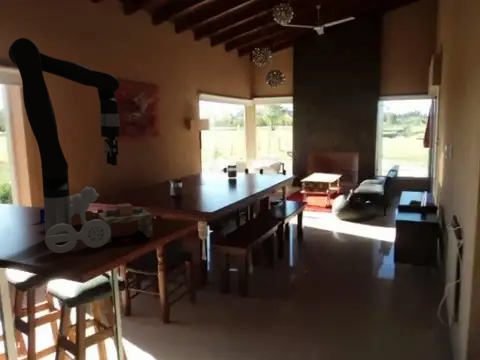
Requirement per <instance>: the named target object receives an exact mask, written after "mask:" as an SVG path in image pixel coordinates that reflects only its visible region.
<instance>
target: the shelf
mask: <svg viewBox="0 0 480 360" xmlns="http://www.w3.org/2000/svg"><path fill="white" fill-rule="evenodd" d="M97 214H98V219H99V220H102V221H104V222H105V223H107V224H108V225H109V227H110V229H111V230H112V225H111V224H113V223H114V224H115V223H120V222H124V221H133V222H134V221H137V225H138V226H137V227H138V231H139V232H140V231H141V232H140V233H142V234H143V235H144V236H145V235H146V236H145V237H146V238H153V236H154V235H153V233H154V232H153V214H152V213H150V212H148V211H147V210H145V209H144V208H143V207H141V206H139V207H133V215H131V216H122V217H117V215H119V214H120V211H119V210H117V209H111V210H110V209H108V210H106V211H105V212H98V213H97ZM98 227H99V226H98ZM99 228H100V227H99ZM101 231H103V229H102V230H101ZM102 235H103V234H102ZM102 235H101V236H102ZM108 243H112V235H111V236H110V238H109V240H108V242H107V243H106V244H108Z"/></svg>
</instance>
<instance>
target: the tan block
mask: <svg viewBox="0 0 480 360" xmlns="http://www.w3.org/2000/svg"><path fill="white" fill-rule="evenodd" d="M133 208H134V206H133V205H132V204H131V203H129V202H128V203H118V204H116V210H119V211H120V214H119V215H117V216H116V217H122V216H131V215H134V214H133ZM133 222H134V220H133V221H124V222H119V224H126V223H133Z"/></svg>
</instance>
